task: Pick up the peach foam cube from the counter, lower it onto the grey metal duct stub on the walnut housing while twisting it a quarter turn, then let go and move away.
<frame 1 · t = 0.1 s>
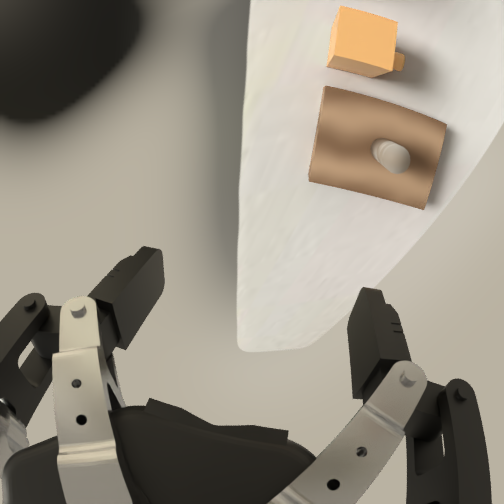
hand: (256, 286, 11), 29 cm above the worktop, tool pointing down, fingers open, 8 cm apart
duct housing: (374, 144, 33), on the worktop
peach foam cube: (352, 51, 27), on the worktop
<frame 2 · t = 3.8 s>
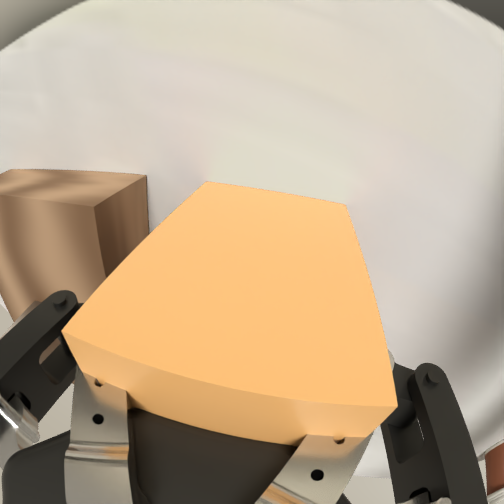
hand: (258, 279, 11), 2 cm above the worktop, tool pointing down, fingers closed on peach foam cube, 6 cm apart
duct housing: (82, 283, 17), on the worktop
peach foam cube: (266, 253, 13), on the worktop, touching gripper
coffee cup: (498, 444, 24), on the worktop
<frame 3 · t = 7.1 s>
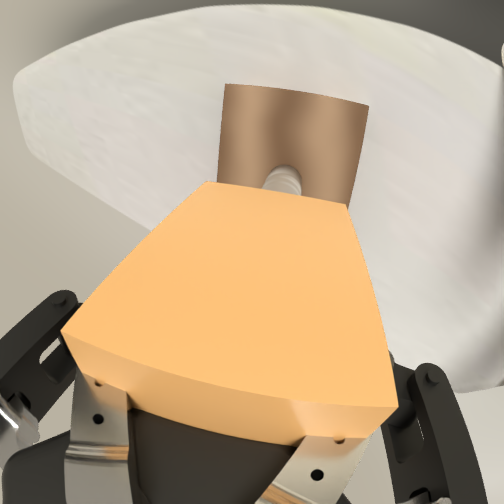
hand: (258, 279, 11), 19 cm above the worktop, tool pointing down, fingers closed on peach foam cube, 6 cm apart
duct housing: (287, 170, 28), on the worktop
peach foam cube: (266, 252, 13), point 17 cm above the worktop, touching gripper
when the fingers open (8 cm above the worktop, at t = 10.8 s): peach foam cube drops 1 cm, resting on duct housing.
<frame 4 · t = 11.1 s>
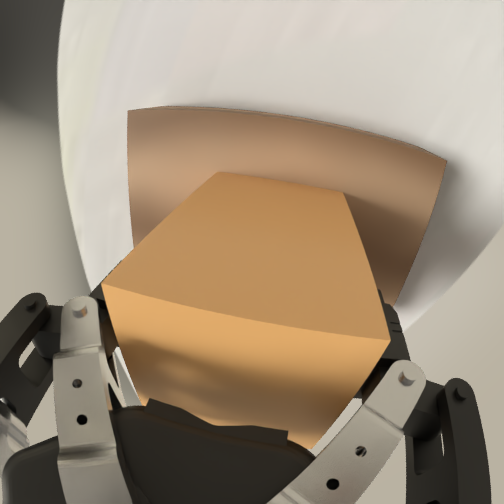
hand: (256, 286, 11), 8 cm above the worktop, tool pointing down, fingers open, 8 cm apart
duct housing: (276, 210, 18), on the worktop
peach foam cube: (271, 237, 14), point 4 cm above the worktop, touching duct housing
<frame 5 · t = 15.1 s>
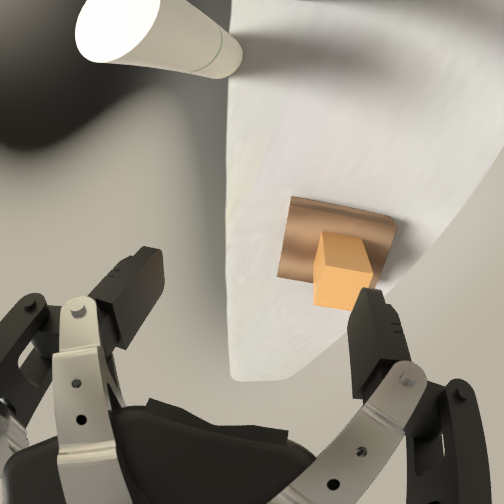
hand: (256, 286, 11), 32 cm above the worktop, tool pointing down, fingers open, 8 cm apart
cylindrical container: (218, 56, 33), on the worktop
duct housing: (334, 240, 44), on the worktop
peach foam cube: (336, 252, 41), point 4 cm above the worktop, touching duct housing
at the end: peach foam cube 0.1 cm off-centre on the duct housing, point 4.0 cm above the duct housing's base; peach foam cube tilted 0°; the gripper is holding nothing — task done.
